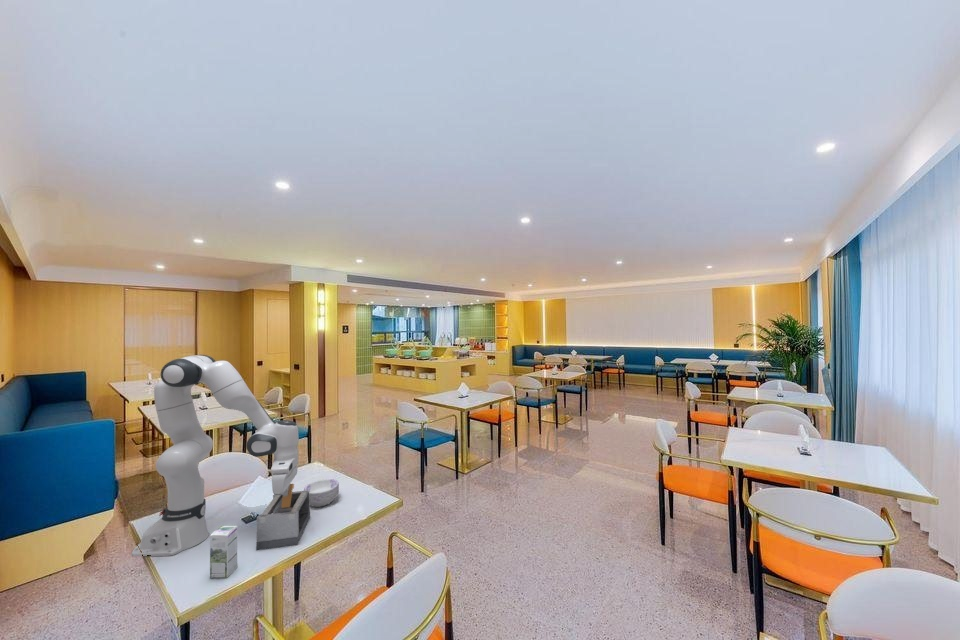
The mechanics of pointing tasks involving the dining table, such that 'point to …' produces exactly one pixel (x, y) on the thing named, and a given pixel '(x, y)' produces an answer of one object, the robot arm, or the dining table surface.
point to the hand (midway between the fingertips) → (285, 495)
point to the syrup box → (223, 551)
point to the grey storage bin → (283, 522)
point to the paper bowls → (322, 491)
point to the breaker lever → (287, 501)
